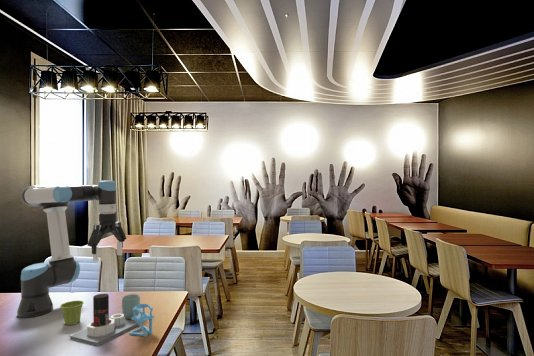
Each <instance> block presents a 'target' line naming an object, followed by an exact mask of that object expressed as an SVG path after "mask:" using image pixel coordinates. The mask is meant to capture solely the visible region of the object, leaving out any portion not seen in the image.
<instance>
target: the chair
mask: <svg viewBox="0 0 534 356" xmlns="http://www.w3.org/2000/svg"><path fill="white" fill-rule="evenodd" d="M145 308H149V311H150V312H149V313H146V312H145V311H146V310H145ZM141 309H142V310H141ZM153 310H154V307H152V306H151V305H150V304H147V303H140V304H138V305H137V306H135V307H134V308H133V309H132V311H133V313H134V316H133V317H132V318H131V319H130V320H131V321H135V322H137V323H138V324H139V325H138V326H139V328H136V329H134V330H132V331H129V333H128V335H129V336H138V337H146V338H147V337H148V334H149V335H152V334H153V319H154V318H155V316H154V315H153V314H152V313H153ZM135 311H137V312H139V314H138V316H136V314H135ZM146 321H148V327H147V326H145V325H143V323H145V322H146ZM140 331H142V332H140Z"/></svg>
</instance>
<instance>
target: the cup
mask: <svg viewBox="0 0 534 356" xmlns="http://www.w3.org/2000/svg"><path fill="white" fill-rule="evenodd" d="M138 304H141V297H140V294H137V293H136V294H135V293H133V294H132V293H131V294H126V295H123V296H122V298H121V310H122V311H121V312H122V313H121V314H124V319H125V320H132V319H131V318H132V317H133V316H134V313H133V311H132V309H133V308H134V307H135V306H137V305H138ZM135 314H136V316H138V315H140V313H139V312H137V311H135Z"/></svg>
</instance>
